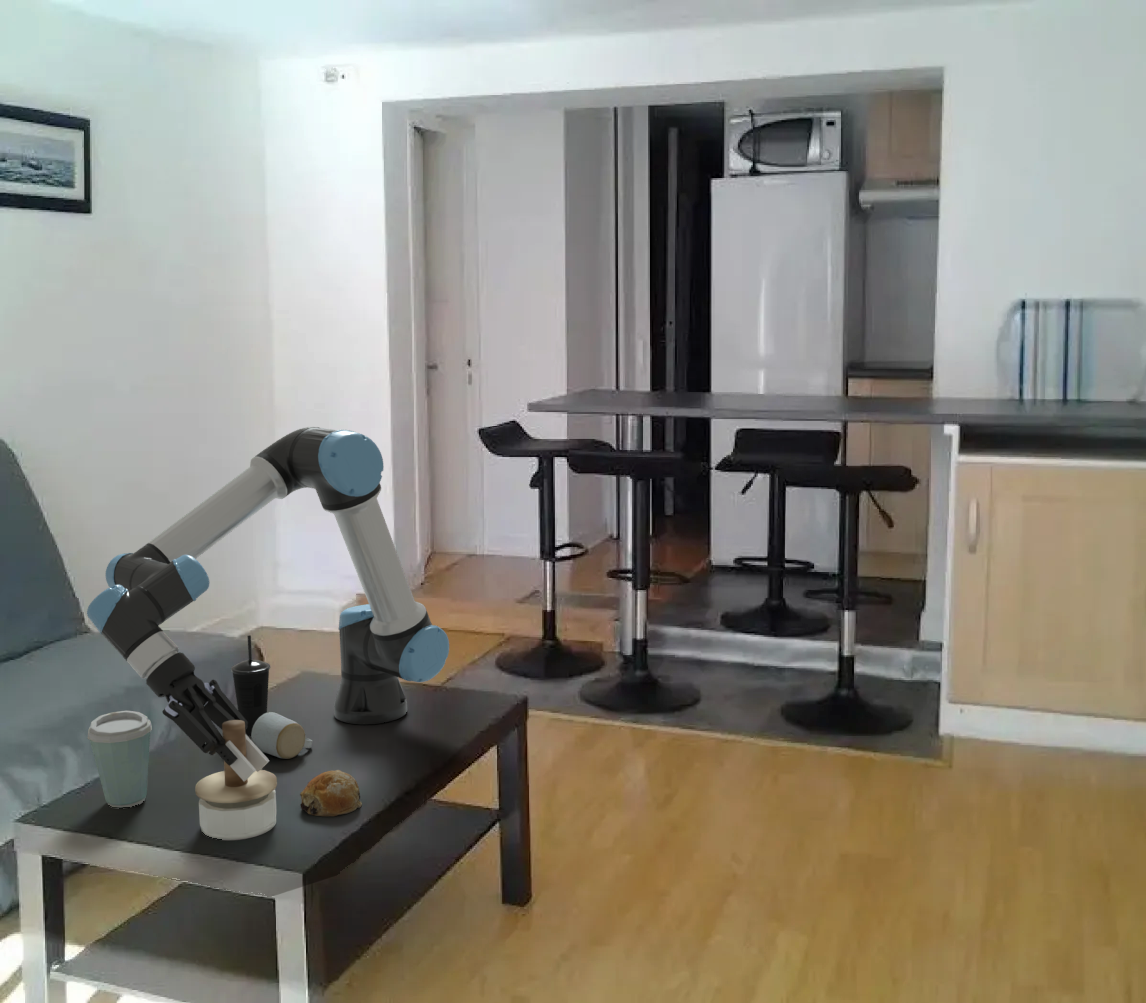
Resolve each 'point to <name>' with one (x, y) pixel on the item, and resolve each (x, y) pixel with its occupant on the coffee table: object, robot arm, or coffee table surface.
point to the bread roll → (331, 794)
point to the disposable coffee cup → (122, 756)
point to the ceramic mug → (279, 736)
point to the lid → (235, 774)
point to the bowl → (238, 818)
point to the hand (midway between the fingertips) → (256, 770)
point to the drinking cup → (251, 688)
